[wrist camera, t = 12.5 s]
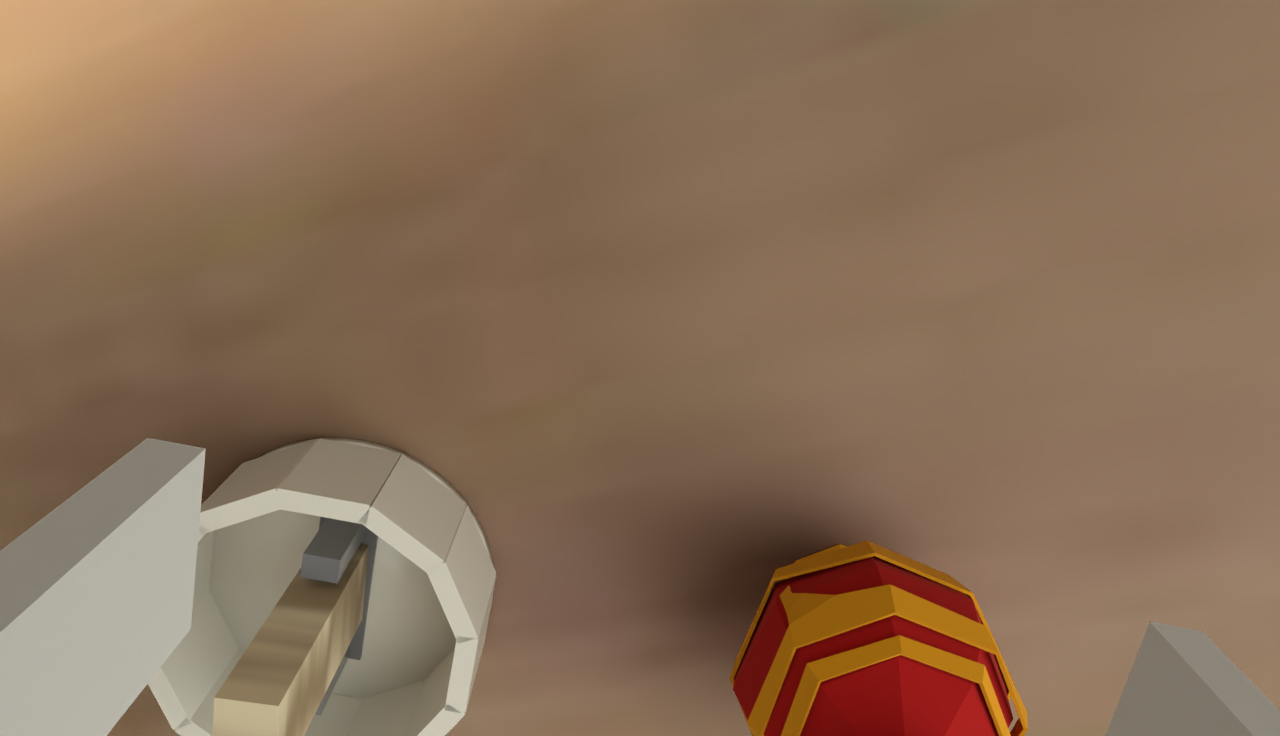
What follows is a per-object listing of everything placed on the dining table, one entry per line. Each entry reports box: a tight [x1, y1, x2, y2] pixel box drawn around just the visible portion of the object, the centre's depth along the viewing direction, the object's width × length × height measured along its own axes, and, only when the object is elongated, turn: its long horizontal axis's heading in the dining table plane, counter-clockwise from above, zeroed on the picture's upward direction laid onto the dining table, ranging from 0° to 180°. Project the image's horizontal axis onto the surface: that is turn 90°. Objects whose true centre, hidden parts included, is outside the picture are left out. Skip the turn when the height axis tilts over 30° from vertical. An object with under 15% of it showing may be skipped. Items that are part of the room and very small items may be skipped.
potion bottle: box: [730, 540, 1028, 736], centre depth 37 cm, size 10×10×15 cm
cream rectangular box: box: [213, 544, 369, 736], centre depth 37 cm, size 4×2×11 cm, turn 171°
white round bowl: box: [148, 438, 496, 736], centre depth 41 cm, size 13×13×6 cm
